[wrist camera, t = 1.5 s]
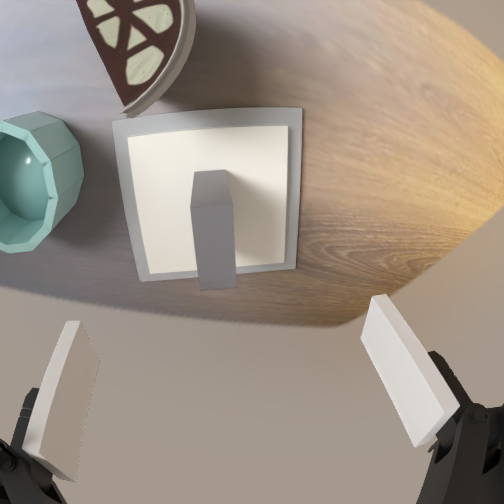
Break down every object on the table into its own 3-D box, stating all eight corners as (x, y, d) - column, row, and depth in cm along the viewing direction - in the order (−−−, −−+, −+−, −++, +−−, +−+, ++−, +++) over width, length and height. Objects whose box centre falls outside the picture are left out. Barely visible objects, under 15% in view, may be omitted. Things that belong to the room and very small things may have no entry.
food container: (222, 78, 22) (232, 70, 14) (154, 109, 23) (124, 122, 14) (168, -35, 16) (151, -89, 7) (101, -3, 17) (53, -39, 8)
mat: (140, 279, 31) (140, 281, 30) (113, 120, 23) (111, 121, 22) (294, 265, 32) (295, 268, 32) (300, 107, 24) (302, 107, 24)
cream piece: (151, 268, 30) (137, 332, 22) (130, 135, 23) (95, 160, 15) (281, 257, 31) (307, 317, 23) (285, 124, 25) (322, 143, 17)
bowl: (8, 228, 25) (-20, 257, 20) (-14, 129, 20) (-50, 143, 14) (92, 215, 26) (70, 246, 21) (74, 100, 21) (43, 106, 16)
